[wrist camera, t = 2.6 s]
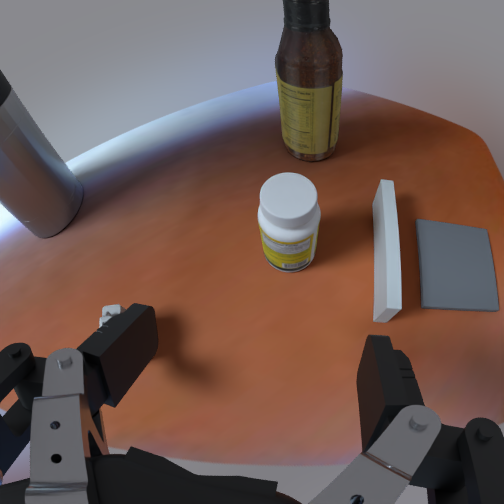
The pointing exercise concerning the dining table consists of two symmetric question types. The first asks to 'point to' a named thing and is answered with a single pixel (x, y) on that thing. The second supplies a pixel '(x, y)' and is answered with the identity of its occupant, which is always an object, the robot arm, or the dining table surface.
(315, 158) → the sauce bottle
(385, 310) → the wall
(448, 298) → the coaster
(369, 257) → the dining table surface
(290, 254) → the supplement bottle
